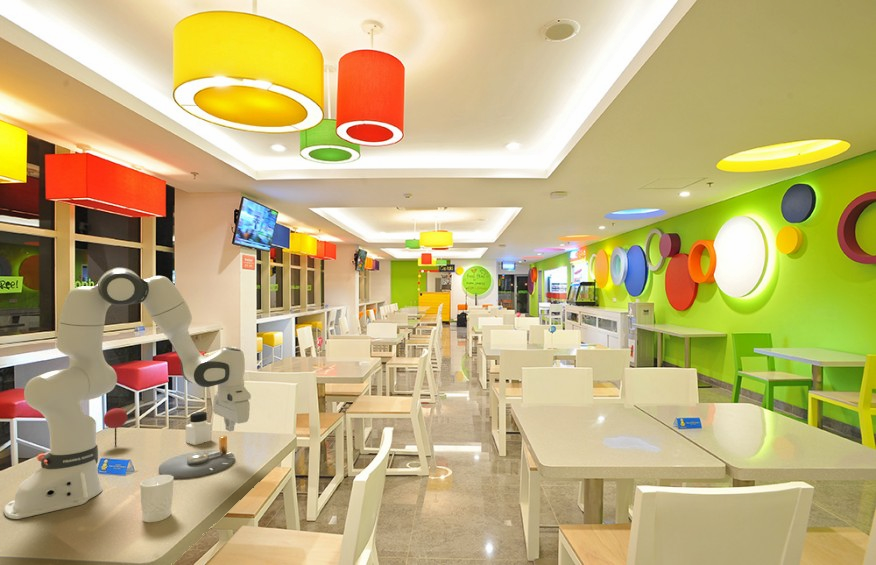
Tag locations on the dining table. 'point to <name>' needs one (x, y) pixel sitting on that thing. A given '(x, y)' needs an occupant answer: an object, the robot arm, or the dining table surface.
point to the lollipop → (115, 419)
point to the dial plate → (195, 466)
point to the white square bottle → (198, 429)
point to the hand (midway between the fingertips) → (229, 430)
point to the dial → (204, 456)
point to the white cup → (156, 497)
